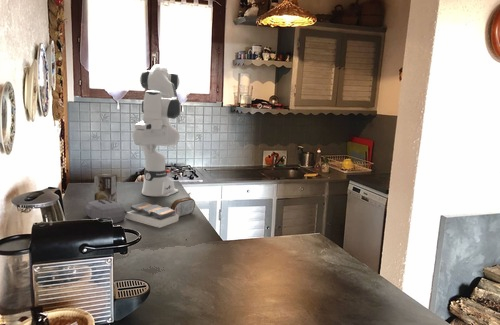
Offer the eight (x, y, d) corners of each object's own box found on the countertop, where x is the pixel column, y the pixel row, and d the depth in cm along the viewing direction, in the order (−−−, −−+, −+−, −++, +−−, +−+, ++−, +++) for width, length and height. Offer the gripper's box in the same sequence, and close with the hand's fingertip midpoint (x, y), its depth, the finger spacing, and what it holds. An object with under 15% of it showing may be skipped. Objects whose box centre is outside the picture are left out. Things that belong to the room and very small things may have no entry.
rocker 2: (156, 206, 195) (156, 203, 194) (163, 210, 193) (164, 207, 192) (141, 211, 186) (141, 208, 186) (149, 215, 184) (149, 212, 184)
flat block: (166, 209, 192) (167, 206, 191) (174, 213, 190) (175, 210, 189) (151, 214, 183) (152, 210, 183) (160, 218, 181) (160, 215, 181)
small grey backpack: (80, 215, 189) (100, 227, 176) (80, 198, 188) (100, 208, 174) (111, 210, 200) (132, 221, 186) (111, 194, 199) (132, 203, 185)
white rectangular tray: (134, 209, 204) (134, 203, 204) (178, 220, 191) (178, 214, 191) (113, 215, 193) (114, 208, 192) (159, 227, 180) (159, 220, 179)
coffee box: (116, 205, 209) (117, 174, 206) (111, 208, 202) (111, 177, 200) (99, 203, 209) (100, 173, 207) (93, 207, 203) (93, 175, 200)
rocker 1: (145, 204, 198) (146, 201, 197) (153, 208, 196) (153, 205, 195) (130, 208, 189) (131, 205, 189) (138, 212, 187) (138, 209, 187)
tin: (191, 211, 207) (192, 195, 206) (195, 213, 206) (196, 196, 204) (169, 217, 195) (170, 200, 194) (174, 219, 193) (174, 202, 192)
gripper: (161, 123, 206) (160, 150, 208) (131, 124, 188) (131, 154, 191) (171, 124, 203) (170, 152, 205) (142, 126, 185) (141, 156, 188)
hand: (151, 153), depth 198 cm, fingers closed
